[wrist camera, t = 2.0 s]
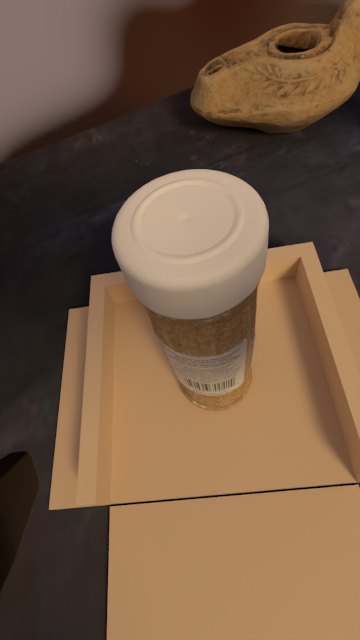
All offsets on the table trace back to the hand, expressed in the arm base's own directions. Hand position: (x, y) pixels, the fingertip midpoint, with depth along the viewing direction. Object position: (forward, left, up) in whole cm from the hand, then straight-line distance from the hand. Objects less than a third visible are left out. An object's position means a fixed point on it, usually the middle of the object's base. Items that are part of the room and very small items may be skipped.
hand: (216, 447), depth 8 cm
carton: (+2, +3, -12) cm, 13 cm away
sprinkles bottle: (+3, +5, -12) cm, 13 cm away
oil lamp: (+25, +20, -12) cm, 34 cm away
